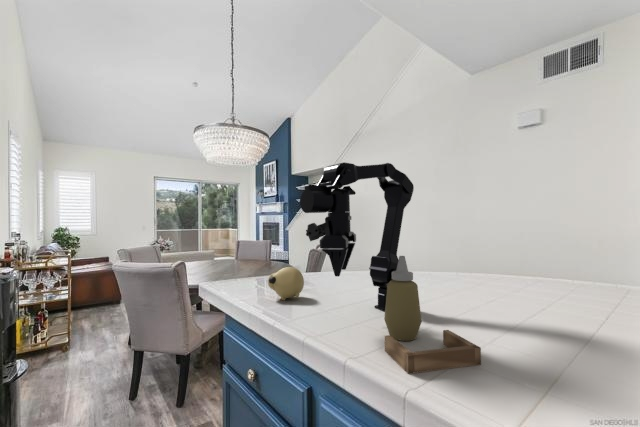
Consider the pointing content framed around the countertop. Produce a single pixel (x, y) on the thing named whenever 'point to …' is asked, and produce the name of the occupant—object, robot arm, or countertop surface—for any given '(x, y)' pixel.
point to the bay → (435, 354)
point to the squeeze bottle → (402, 304)
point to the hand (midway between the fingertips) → (340, 272)
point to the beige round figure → (287, 282)
